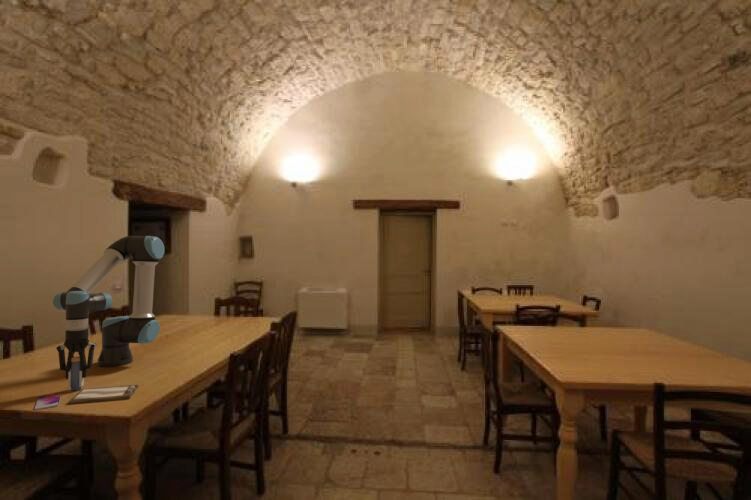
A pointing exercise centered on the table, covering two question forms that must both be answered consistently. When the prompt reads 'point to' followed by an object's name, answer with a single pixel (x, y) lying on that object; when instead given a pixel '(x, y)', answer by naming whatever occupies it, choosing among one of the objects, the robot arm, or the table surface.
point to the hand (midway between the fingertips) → (76, 386)
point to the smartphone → (48, 401)
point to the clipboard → (103, 394)
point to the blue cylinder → (75, 373)
